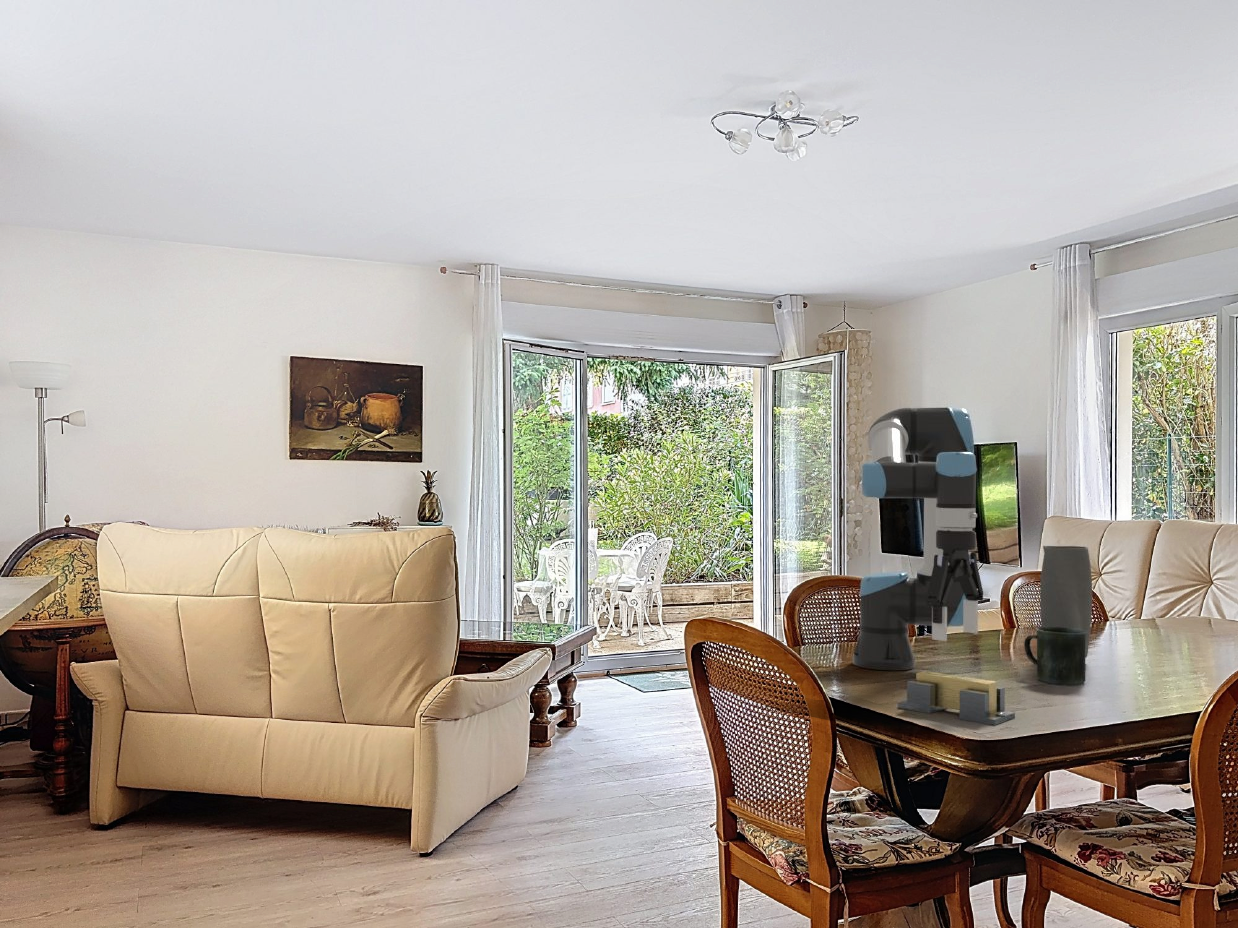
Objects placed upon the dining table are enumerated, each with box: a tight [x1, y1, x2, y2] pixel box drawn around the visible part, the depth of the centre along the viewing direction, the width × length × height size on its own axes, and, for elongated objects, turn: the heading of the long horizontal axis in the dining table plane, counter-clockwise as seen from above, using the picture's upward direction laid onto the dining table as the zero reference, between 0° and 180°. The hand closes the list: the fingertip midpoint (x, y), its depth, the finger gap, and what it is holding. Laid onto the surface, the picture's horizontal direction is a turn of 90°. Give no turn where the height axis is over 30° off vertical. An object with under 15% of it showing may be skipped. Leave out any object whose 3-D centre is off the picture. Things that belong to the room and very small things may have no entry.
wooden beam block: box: [915, 670, 998, 715], centre depth 194 cm, size 15×4×6 cm, turn 45°
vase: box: [1039, 545, 1093, 659], centre depth 254 cm, size 12×12×30 cm
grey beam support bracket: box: [958, 686, 1016, 726], centre depth 189 cm, size 7×9×6 cm
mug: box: [1023, 626, 1087, 686], centre depth 229 cm, size 11×15×12 cm
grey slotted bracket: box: [897, 680, 947, 715], centre depth 198 cm, size 7×9×6 cm
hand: (955, 636), depth 194 cm, fingers open, 13 cm apart
